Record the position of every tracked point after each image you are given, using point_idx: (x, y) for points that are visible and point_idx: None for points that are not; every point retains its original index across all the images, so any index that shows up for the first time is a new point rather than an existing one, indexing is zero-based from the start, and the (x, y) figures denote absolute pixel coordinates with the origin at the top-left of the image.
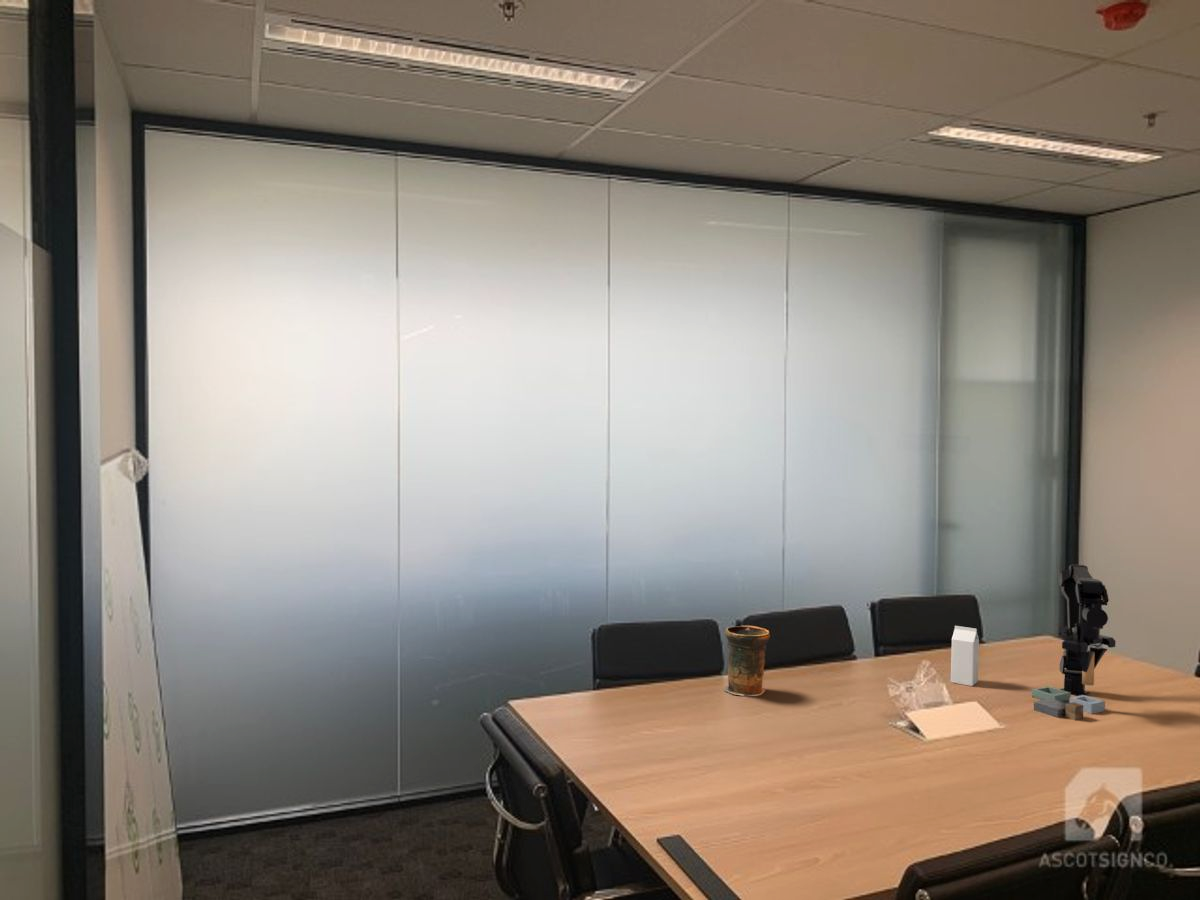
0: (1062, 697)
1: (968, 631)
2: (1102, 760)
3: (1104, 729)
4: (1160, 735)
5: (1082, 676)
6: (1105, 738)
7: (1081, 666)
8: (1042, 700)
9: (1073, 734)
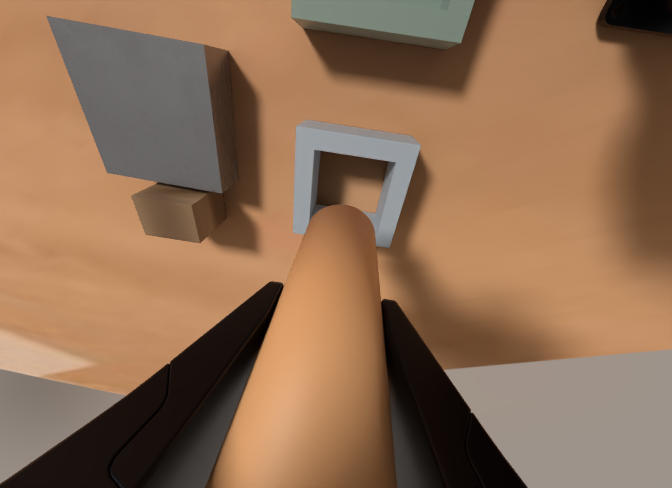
0: (373, 33)
1: None
2: (46, 331)
3: (200, 285)
4: None
5: (305, 239)
6: (146, 304)
7: (239, 309)
8: (121, 34)
9: (79, 257)
